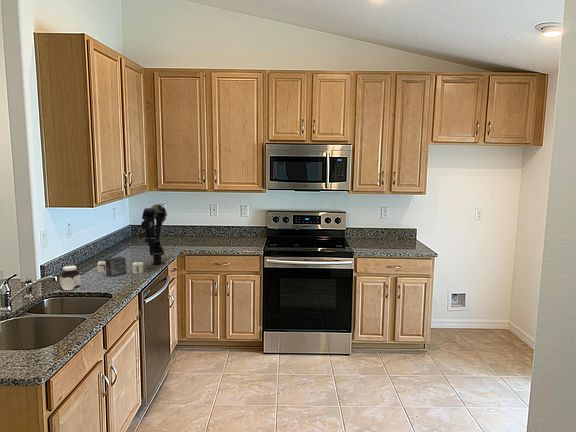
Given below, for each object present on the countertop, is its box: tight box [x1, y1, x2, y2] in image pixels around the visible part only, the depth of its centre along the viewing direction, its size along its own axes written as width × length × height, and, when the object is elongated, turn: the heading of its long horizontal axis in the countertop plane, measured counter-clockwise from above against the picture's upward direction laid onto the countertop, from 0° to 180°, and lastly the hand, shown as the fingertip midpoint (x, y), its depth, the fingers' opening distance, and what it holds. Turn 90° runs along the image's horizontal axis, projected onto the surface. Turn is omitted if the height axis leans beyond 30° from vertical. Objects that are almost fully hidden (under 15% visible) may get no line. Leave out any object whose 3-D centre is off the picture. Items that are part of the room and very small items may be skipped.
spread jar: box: [59, 265, 82, 292], centre depth 251 cm, size 12×11×12 cm
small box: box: [104, 256, 127, 277], centre depth 282 cm, size 11×6×10 cm, turn 140°
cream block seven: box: [96, 260, 106, 273], centre depth 289 cm, size 6×6×6 cm
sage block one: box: [131, 261, 144, 275], centre depth 287 cm, size 6×6×6 cm
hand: (151, 250), depth 296 cm, fingers closed
